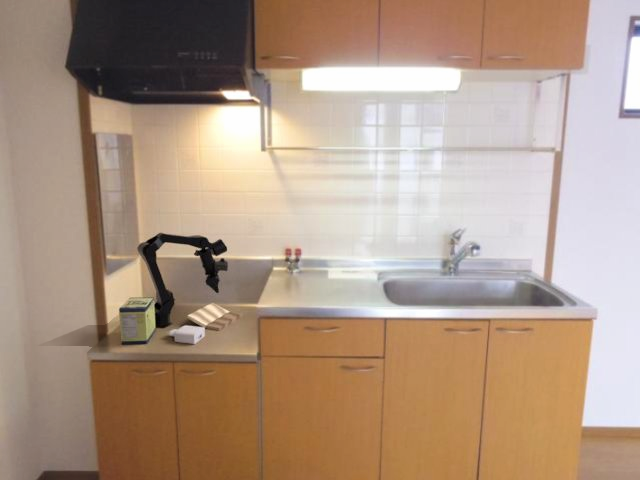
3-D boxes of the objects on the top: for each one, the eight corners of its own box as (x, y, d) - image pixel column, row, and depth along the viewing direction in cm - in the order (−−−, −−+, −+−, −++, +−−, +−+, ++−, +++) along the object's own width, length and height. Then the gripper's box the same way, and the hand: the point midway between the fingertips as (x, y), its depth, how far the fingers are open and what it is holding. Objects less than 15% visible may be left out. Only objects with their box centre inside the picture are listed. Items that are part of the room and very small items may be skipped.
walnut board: (219, 331, 206) (219, 327, 205) (206, 328, 208) (206, 325, 208) (242, 316, 224) (242, 313, 224) (229, 314, 226) (229, 311, 226)
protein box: (156, 330, 206) (154, 296, 203) (147, 344, 191) (145, 308, 188) (131, 330, 204) (129, 297, 202) (120, 345, 189) (118, 308, 186)
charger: (173, 333, 203) (205, 336, 199) (161, 341, 194) (194, 345, 191) (173, 323, 202) (204, 326, 199) (161, 330, 193) (194, 334, 190)
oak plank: (204, 328, 208) (205, 325, 208) (187, 318, 211) (187, 315, 210) (228, 314, 227) (229, 311, 226) (211, 305, 229) (212, 302, 229)
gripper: (224, 262, 213) (234, 291, 219) (223, 248, 230) (232, 276, 236) (200, 269, 211) (211, 299, 217) (201, 255, 229) (211, 283, 234)
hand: (217, 288), depth 226 cm, fingers open, 9 cm apart
